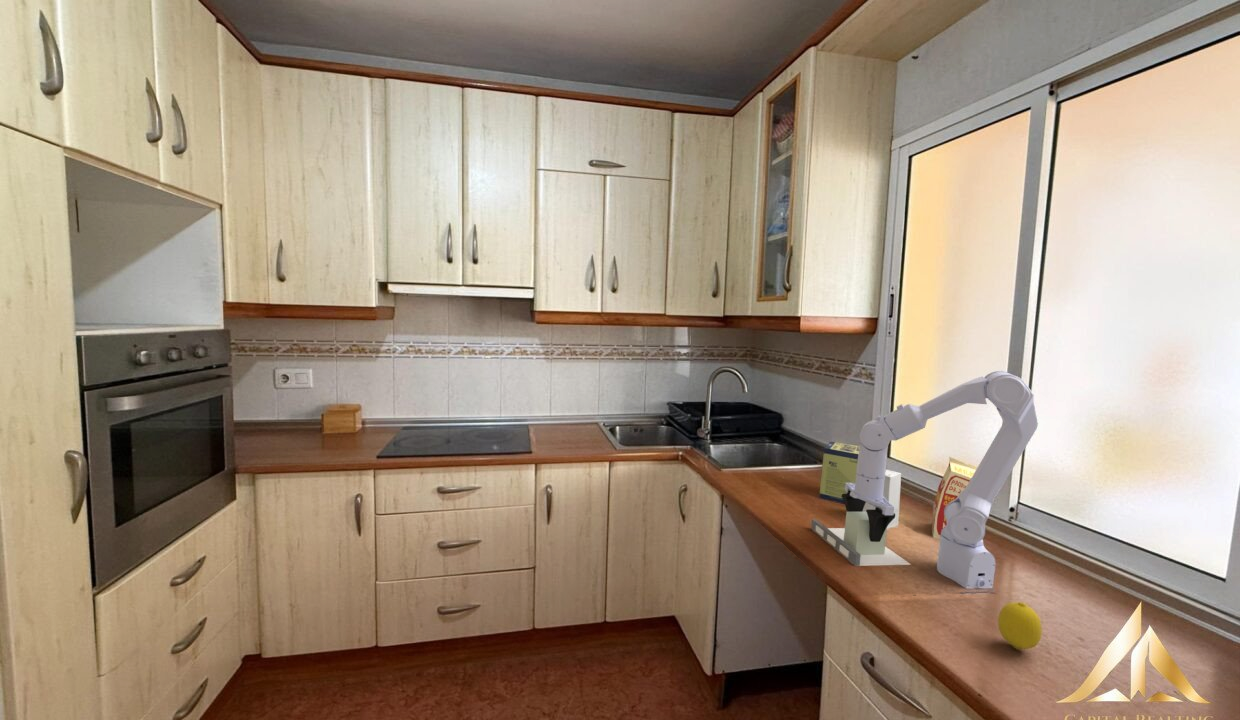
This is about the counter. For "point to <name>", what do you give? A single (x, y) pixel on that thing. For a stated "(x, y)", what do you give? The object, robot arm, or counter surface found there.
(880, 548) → the box
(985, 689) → the counter surface
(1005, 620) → the lemon
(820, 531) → the shelf board
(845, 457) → the protein box
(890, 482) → the skincare box
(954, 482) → the milk carton
